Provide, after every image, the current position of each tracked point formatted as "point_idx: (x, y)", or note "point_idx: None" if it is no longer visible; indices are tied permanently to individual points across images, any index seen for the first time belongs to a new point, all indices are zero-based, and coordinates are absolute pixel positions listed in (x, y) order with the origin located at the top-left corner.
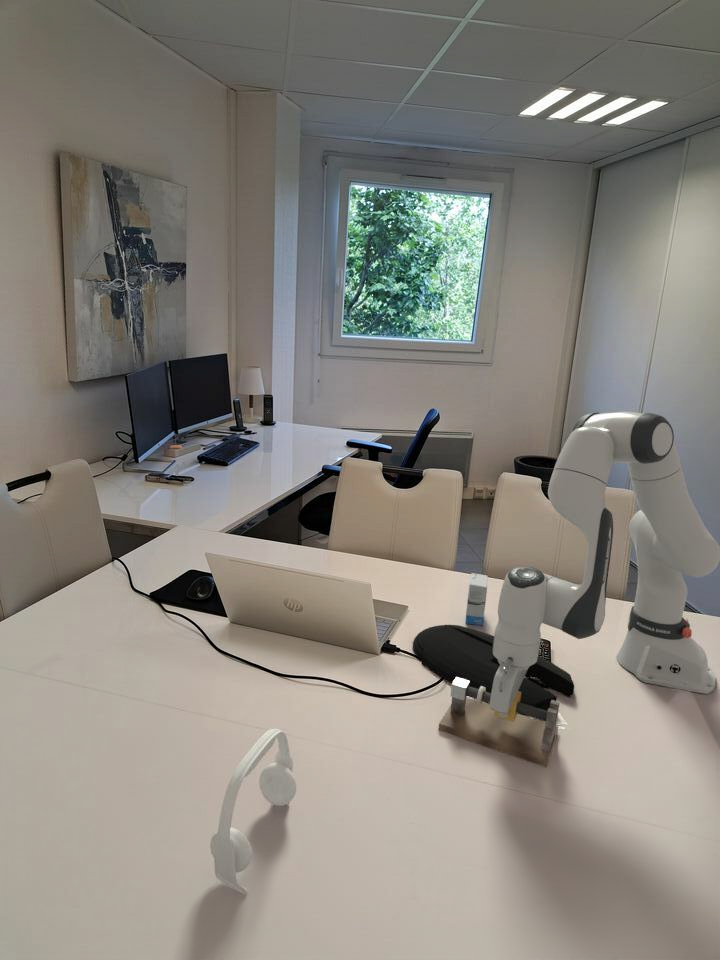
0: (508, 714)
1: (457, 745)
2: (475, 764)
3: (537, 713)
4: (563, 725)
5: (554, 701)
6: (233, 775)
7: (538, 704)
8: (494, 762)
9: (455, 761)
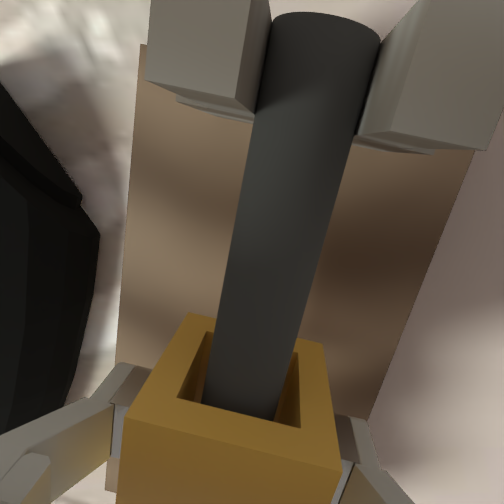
0: (337, 416)
1: (388, 465)
2: (493, 411)
3: (323, 233)
4: (76, 18)
5: (173, 32)
6: None
7: (6, 168)
8: (467, 346)
9: (486, 471)
